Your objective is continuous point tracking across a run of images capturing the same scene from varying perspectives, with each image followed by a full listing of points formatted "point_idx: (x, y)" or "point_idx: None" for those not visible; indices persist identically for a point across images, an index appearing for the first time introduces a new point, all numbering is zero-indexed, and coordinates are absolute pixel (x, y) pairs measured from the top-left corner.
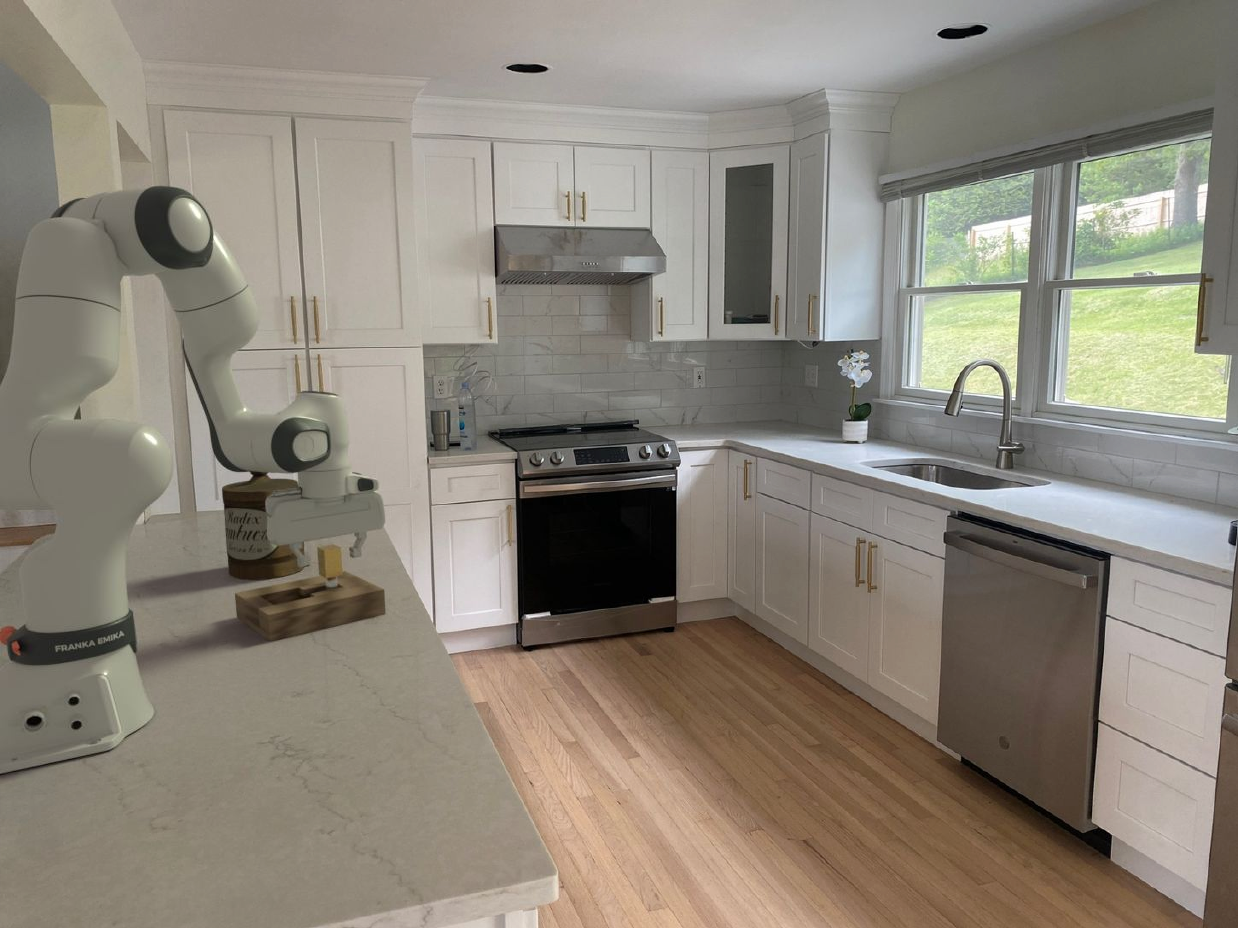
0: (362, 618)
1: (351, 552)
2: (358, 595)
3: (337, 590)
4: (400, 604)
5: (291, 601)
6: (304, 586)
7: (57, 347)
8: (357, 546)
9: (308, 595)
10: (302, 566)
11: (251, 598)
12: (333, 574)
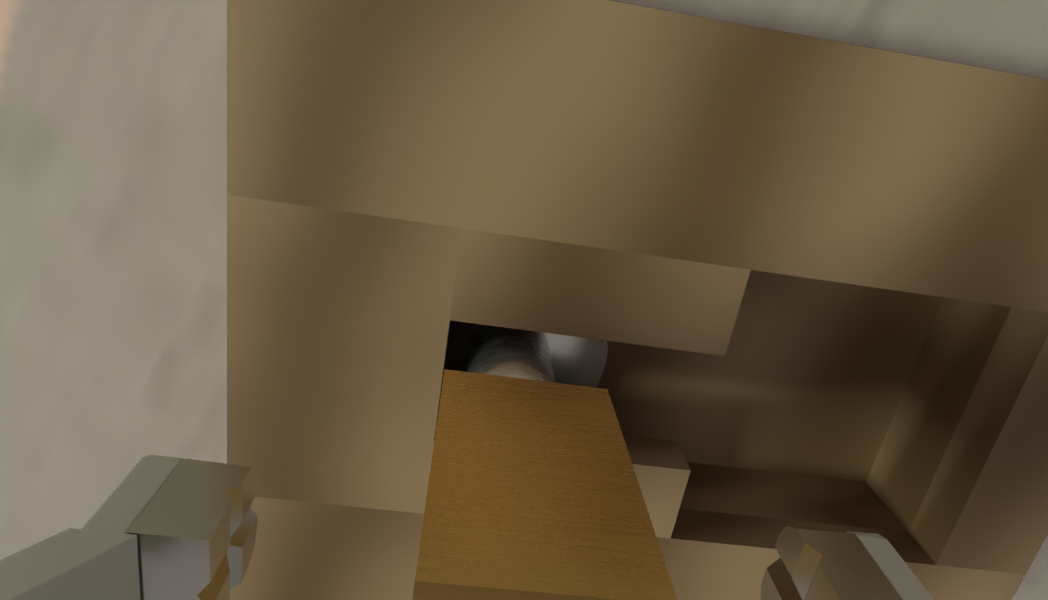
0: None
1: (227, 561)
2: None
3: (545, 266)
4: (106, 64)
5: (936, 290)
6: None
7: None
8: (122, 563)
9: (646, 438)
10: (873, 533)
11: (1001, 546)
12: (535, 392)
